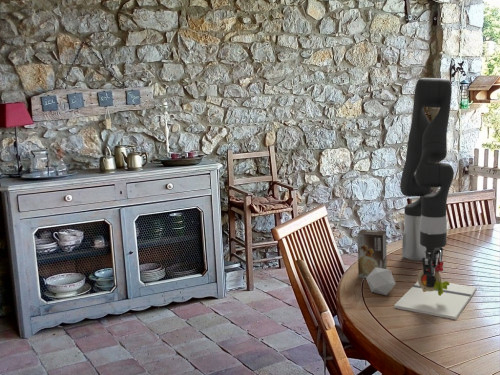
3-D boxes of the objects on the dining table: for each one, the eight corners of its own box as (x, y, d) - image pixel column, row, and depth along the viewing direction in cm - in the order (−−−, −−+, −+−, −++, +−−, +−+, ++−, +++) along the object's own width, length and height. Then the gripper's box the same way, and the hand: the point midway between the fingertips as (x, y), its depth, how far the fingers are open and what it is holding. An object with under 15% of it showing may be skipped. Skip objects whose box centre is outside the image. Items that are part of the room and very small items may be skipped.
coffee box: (387, 274, 196) (387, 230, 193) (383, 280, 190) (383, 235, 187) (361, 271, 200) (361, 228, 197) (357, 277, 194) (357, 233, 191)
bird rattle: (422, 301, 167) (451, 294, 162) (408, 268, 167) (436, 260, 163) (427, 295, 172) (454, 287, 168) (413, 262, 172) (440, 254, 168)
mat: (394, 307, 167) (394, 304, 167) (420, 280, 188) (420, 278, 188) (455, 319, 157) (455, 316, 157) (476, 289, 178) (476, 286, 178)
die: (399, 292, 180) (388, 265, 184) (397, 288, 173) (386, 260, 176) (375, 301, 182) (365, 273, 186) (372, 297, 174) (361, 269, 178)
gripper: (427, 222, 172) (426, 275, 176) (413, 234, 161) (412, 290, 164) (452, 225, 168) (451, 279, 171) (439, 237, 157) (438, 294, 160)
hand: (432, 284), depth 168 cm, fingers closed on bird rattle, 3 cm apart
